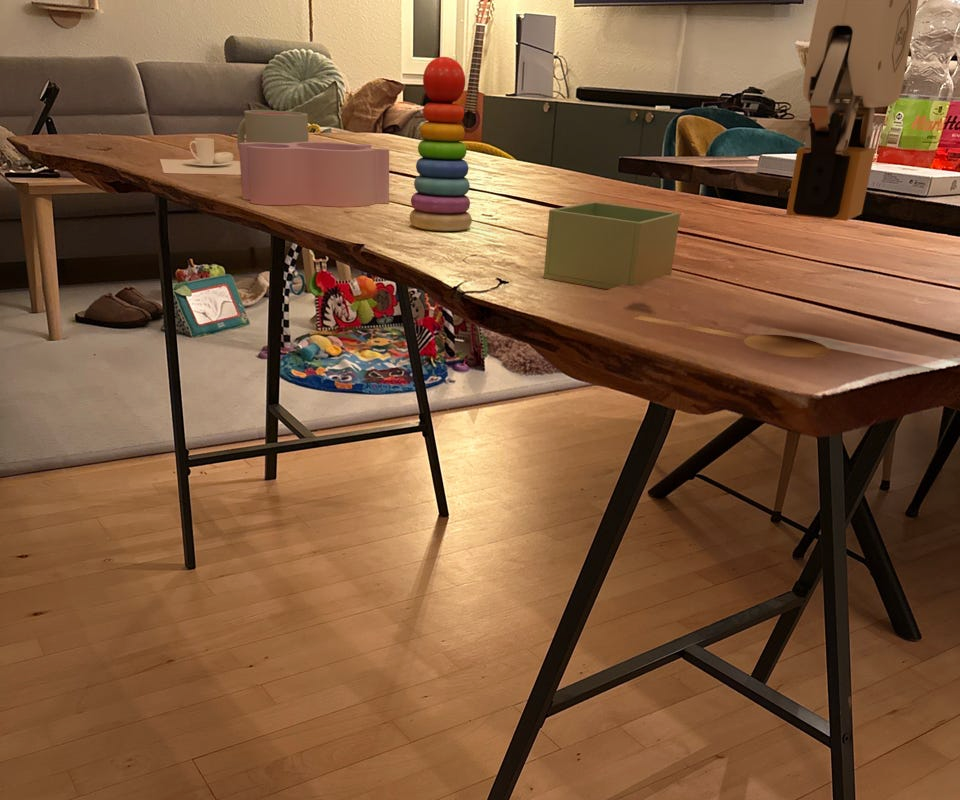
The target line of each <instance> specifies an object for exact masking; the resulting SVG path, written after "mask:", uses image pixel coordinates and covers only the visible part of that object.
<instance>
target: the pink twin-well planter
mask: <svg viewBox="0 0 960 800" xmlns="http://www.w3.org/2000/svg"><path fill="white" fill-rule="evenodd" d="M238 153H239V161H240V169H241V175H240V181H241V183H240V184H241V196H242V200H245V201H247V200H249V201H250V204H254V205H263V206H292V205H309V206H319V207H336V208H337V207H338V208H339V207H340V208H341V207H345V208H346V207H347V208H350V207H355V208H356V207H367V206H372V205H375V204H383V205H388V204H390V149H387V148H375V147H372V144H370V143H369V144H368V143H362V144H361V143H360V144H359V143H358V144H357V143H345V142H330V141H329V142H328V141H309V142H293V143H264V142H249V143H246V142H245V143H239V149H238Z"/></svg>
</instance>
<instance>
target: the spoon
mask: <svg viewBox="0 0 960 800" xmlns="http://www.w3.org/2000/svg"><path fill="white" fill-rule="evenodd" d="M633 319H634V320H638V321H644V322H650V323H654V324H659V325H664V326H670V327H674V328H680V329H684V330H685V329H686V330H691V331H696V332H701V333H705V334H711V335H716V336H722V337H727V338H732V339H738V340H743V343H744V344H745V345H746V346H748V347H749V348H751V349H752V350H753V349H754V350H756V351H759V352H763V353H767V354H771V355H775V356H782V357H791V358H820V357H824V356H827V355H828V354H829V353H830V352H831V351H830V348H829V347H827V346H826V345H824V344H822V343H820V342H818V341H815V340H811V339H807V338H804V337H803V338H802V337H798V336H794V335H793V336H792V335H785V334H784V335H783V334H755V335H745V334H740V333H735V332H730V331H724V330H718V329H714V328H708V327H703V326H697V325H692V324H686V323H682V322H676V321H671V320H666V319H660V318H656V317H650V316H646V315H638V316H636V317H634V318H633Z"/></svg>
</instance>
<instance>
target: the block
mask: <svg viewBox="0 0 960 800" xmlns="http://www.w3.org/2000/svg"><path fill="white" fill-rule="evenodd" d="M875 152H876V148H874V147H868V148H860V147H848V148H847V151H846V154H845V156H850V161H849V166H848V171H847V176H846V180H845V185H844V190H843V195H842V200H841V205H840V210H839V213H838V215H837V216H835V217H833V218H828V217H818V216H808V215H798V214H795V213H794V211H793V207H794V202H795V196H796V191H797V185H798V180H799V174H800V169H801V163H802V158H803V153H804V146H799V147H797V149H796V156H795V162H794V167H793V173H792V178H791V184H790V188H789V189H790V190H789V195H788V201H787V205H786V206H787V208H786V211H785V212H786V215H787V216H793V217H802V218H803V217H804V218H814V219H824V220H825V219H826V220H832V221H833V220H834V221H844V222H847V221H849V220H851V219H854V218H856V217H858V216H860V215H862V214H863V210H864V204H865V200H866V195H867V190H868V185H869V181H870V176H871V172H872V167H873V162H874V159H875V158H874V157H875Z"/></svg>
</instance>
